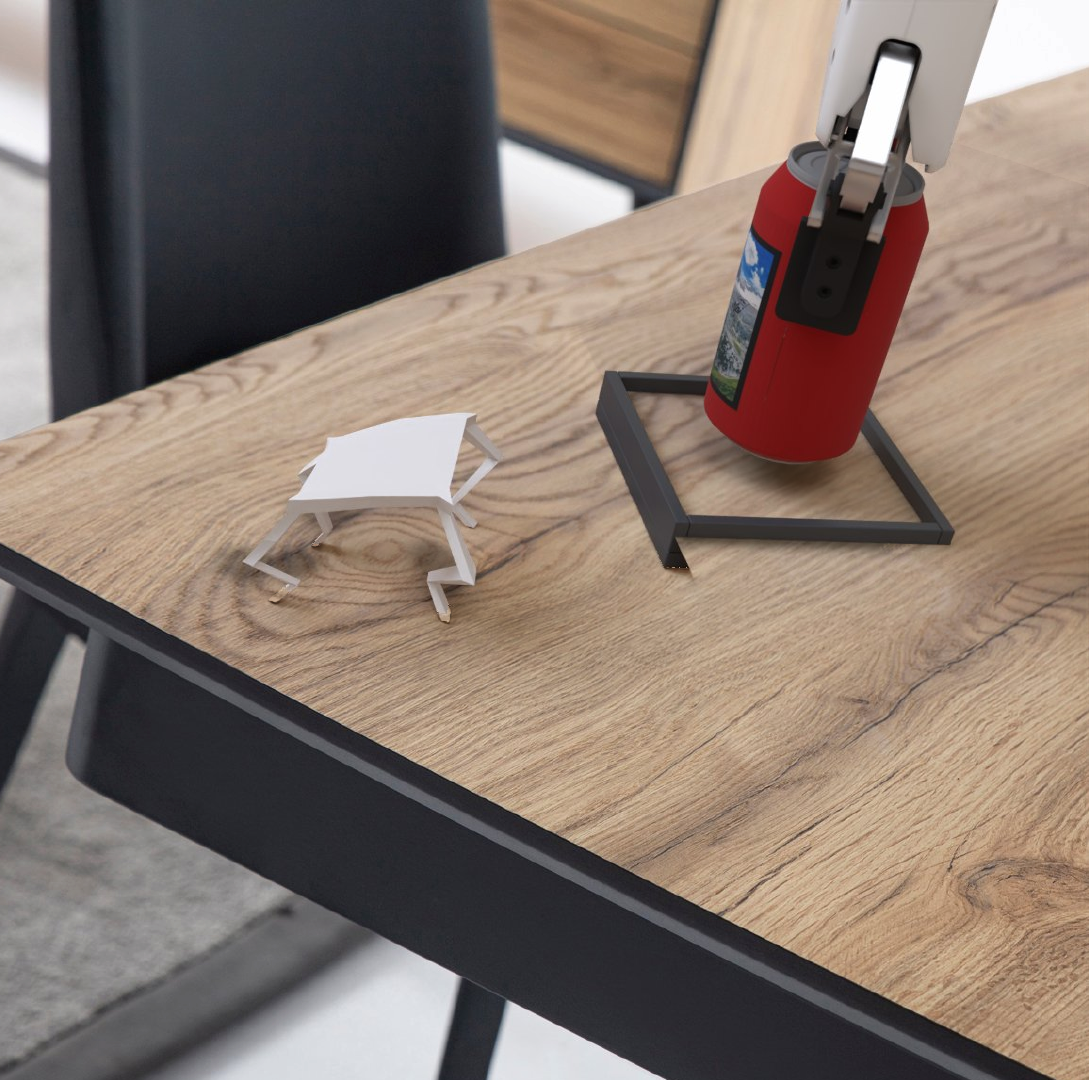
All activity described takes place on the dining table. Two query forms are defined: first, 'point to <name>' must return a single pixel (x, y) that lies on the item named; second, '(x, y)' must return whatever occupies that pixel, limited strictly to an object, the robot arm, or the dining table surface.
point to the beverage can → (806, 327)
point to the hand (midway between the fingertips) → (823, 283)
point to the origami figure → (391, 485)
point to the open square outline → (671, 520)
